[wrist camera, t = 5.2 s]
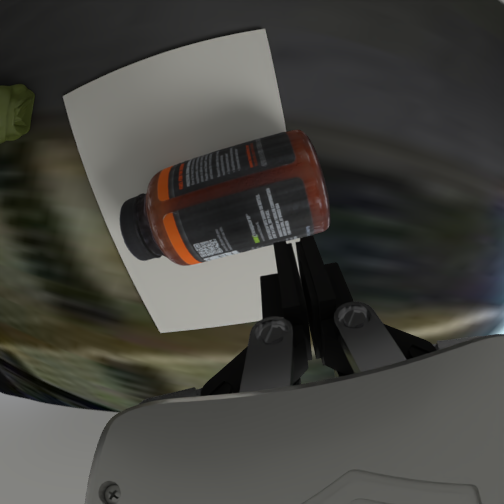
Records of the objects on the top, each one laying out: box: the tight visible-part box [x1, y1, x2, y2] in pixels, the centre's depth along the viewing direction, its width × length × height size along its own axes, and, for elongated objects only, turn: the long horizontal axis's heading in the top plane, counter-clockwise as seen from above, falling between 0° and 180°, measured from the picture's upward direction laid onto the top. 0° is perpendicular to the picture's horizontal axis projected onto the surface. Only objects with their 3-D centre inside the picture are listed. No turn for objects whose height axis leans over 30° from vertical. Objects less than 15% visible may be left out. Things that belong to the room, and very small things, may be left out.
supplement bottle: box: [119, 130, 330, 266], centre depth 17 cm, size 6×6×11 cm
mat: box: [63, 29, 302, 333], centre depth 20 cm, size 14×22×1 cm, turn 11°
